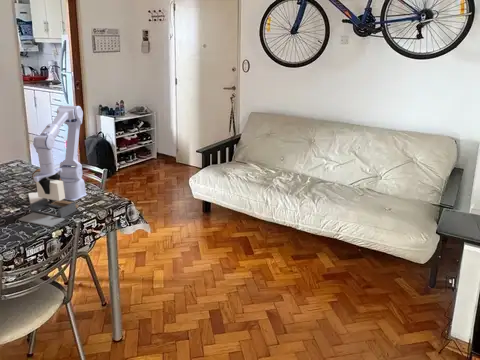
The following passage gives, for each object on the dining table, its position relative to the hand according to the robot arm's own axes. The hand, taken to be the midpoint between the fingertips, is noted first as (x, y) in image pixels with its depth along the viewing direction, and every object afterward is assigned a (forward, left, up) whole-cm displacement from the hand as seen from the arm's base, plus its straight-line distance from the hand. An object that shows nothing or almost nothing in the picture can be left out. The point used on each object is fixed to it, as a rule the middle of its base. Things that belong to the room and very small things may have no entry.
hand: (50, 192), depth 198 cm
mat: (+9, +2, -9) cm, 13 cm away
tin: (-26, -29, -10) cm, 40 cm away
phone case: (-9, -18, -10) cm, 22 cm away
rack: (0, 0, -9) cm, 9 cm away
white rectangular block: (0, 0, -2) cm, 2 cm away
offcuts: (-7, 0, -9) cm, 12 cm away
